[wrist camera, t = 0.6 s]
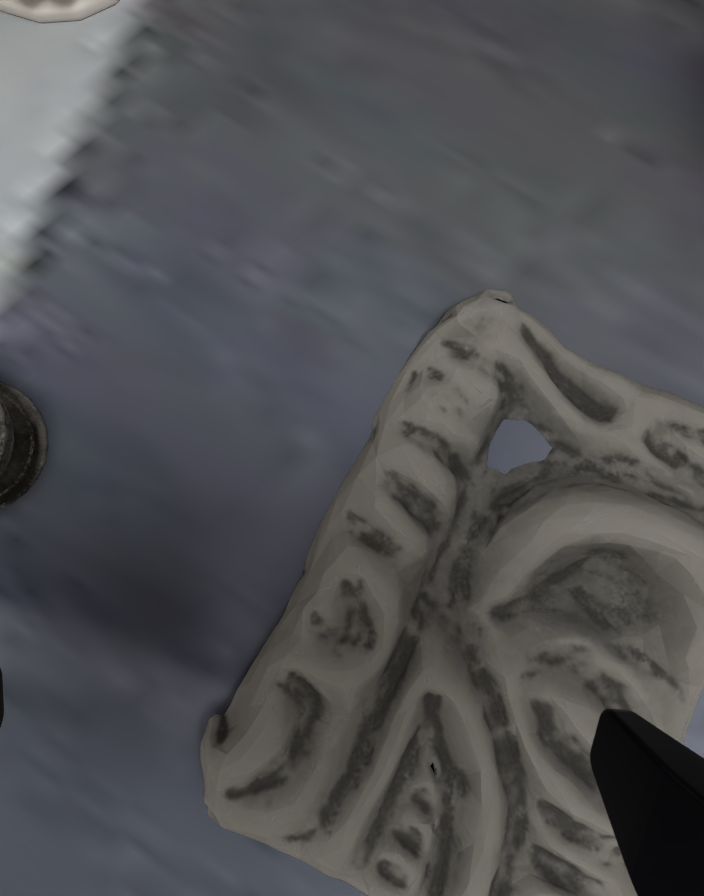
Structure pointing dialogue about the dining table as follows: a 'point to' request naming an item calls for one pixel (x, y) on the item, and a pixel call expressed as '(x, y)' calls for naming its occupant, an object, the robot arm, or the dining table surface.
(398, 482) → the wall plaque
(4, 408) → the stone chess piece
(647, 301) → the dining table surface
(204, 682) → the dining table surface
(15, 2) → the decorative candle
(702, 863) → the robot arm
